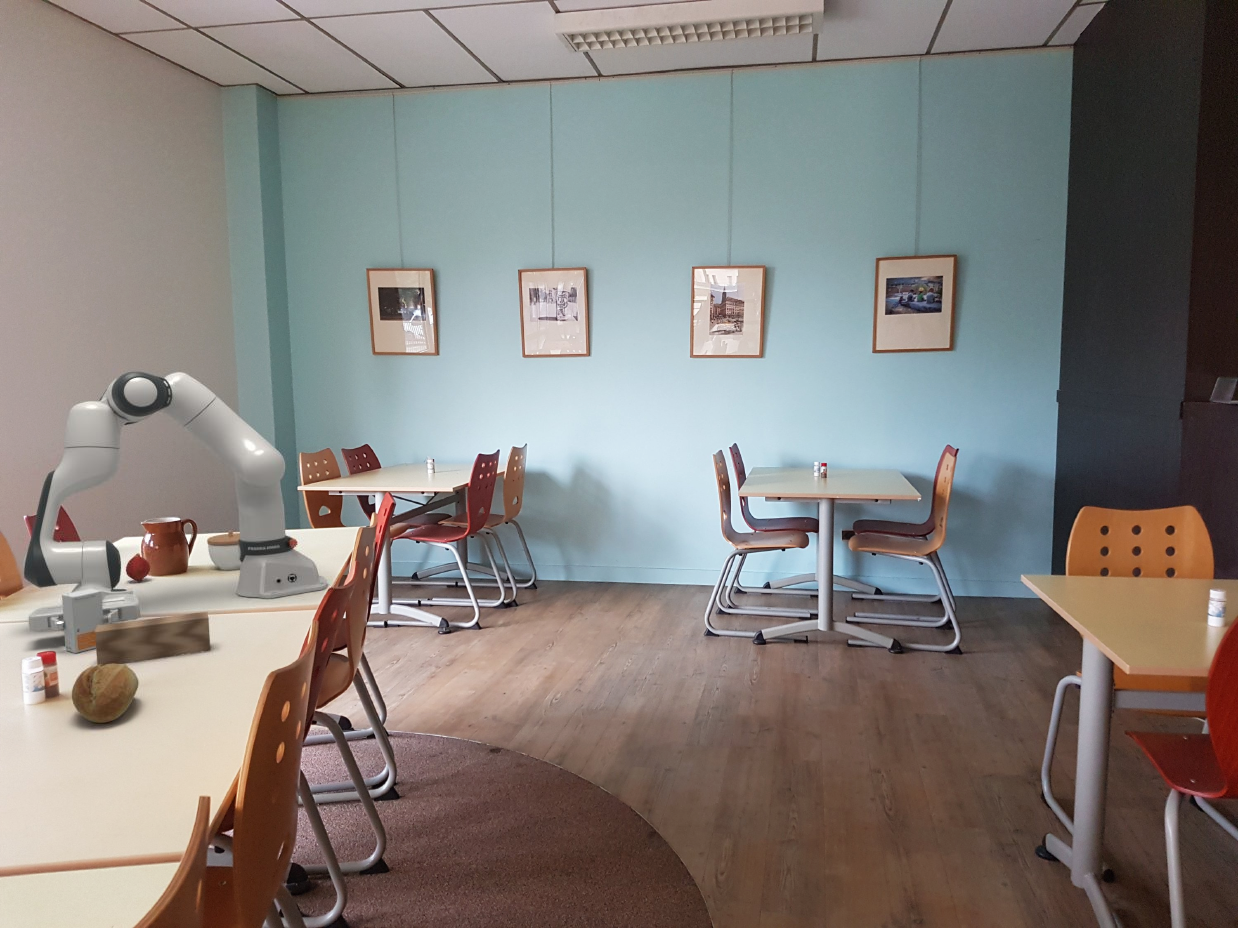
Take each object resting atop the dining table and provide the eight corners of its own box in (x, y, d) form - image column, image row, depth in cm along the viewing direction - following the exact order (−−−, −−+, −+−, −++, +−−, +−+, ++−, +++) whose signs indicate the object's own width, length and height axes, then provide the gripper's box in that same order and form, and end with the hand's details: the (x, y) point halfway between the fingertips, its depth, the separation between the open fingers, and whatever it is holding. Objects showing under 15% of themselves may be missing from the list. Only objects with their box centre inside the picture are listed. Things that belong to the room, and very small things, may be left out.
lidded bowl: (264, 565, 251) (262, 529, 250) (225, 574, 240) (223, 536, 239) (239, 560, 258) (237, 525, 257) (200, 569, 247) (197, 532, 246)
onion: (126, 585, 229) (124, 556, 228) (127, 580, 234) (125, 552, 233) (150, 582, 231) (148, 554, 231) (151, 578, 237) (149, 550, 236)
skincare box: (75, 654, 173) (70, 597, 171) (65, 650, 175) (60, 594, 174) (106, 645, 178) (102, 590, 176) (96, 642, 180) (91, 587, 179)
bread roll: (68, 734, 134) (64, 686, 133) (79, 702, 148) (75, 658, 147) (137, 722, 139) (134, 675, 138) (141, 692, 152) (138, 649, 151)
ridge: (209, 643, 179) (207, 611, 178) (210, 650, 174) (208, 617, 174) (99, 659, 169) (96, 625, 169) (97, 666, 165) (94, 632, 164)
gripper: (31, 599, 182) (21, 615, 170) (139, 587, 191) (137, 602, 179) (33, 628, 183) (24, 646, 170) (141, 614, 192) (139, 631, 180)
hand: (83, 623), depth 175 cm, fingers closed on skincare box, 7 cm apart
